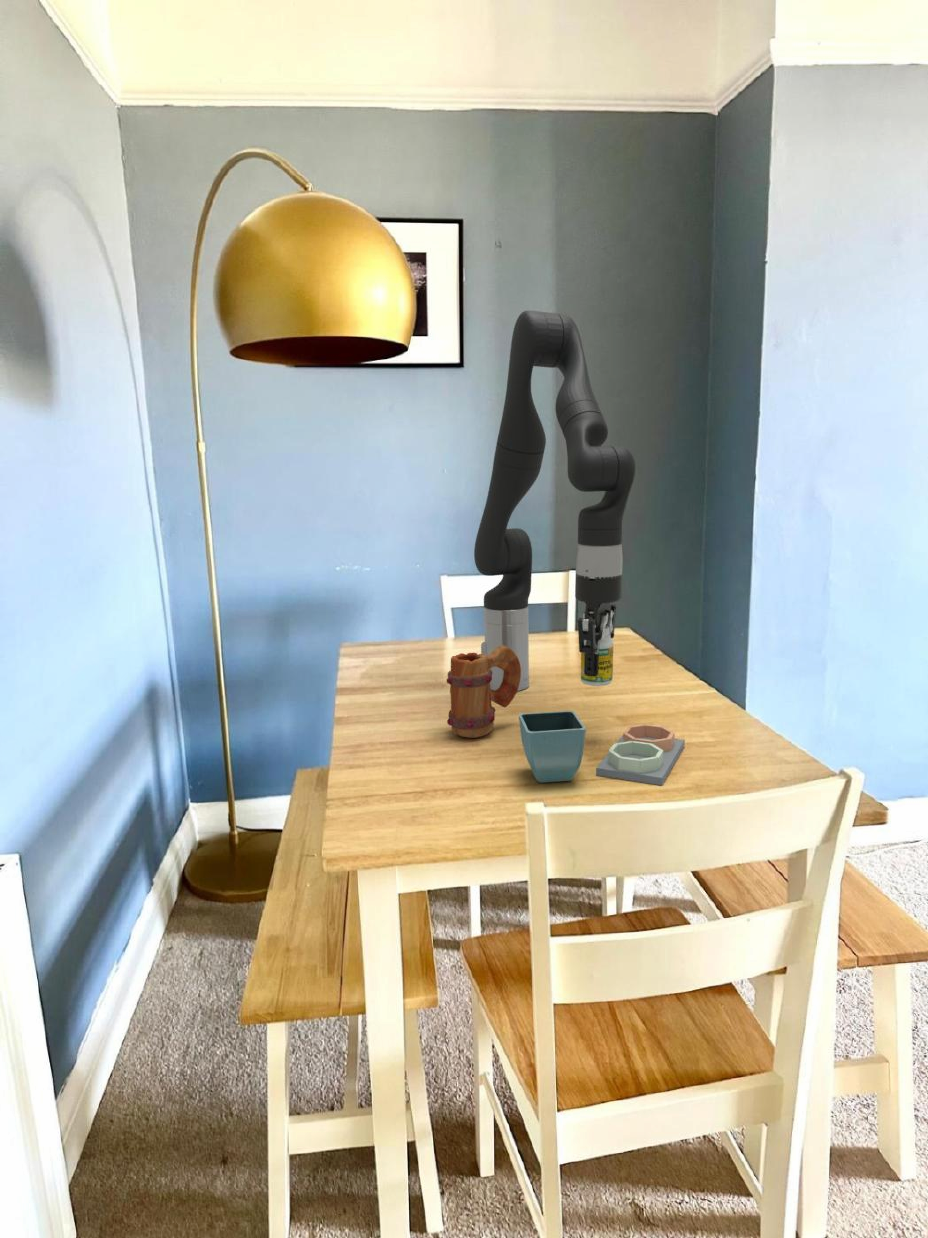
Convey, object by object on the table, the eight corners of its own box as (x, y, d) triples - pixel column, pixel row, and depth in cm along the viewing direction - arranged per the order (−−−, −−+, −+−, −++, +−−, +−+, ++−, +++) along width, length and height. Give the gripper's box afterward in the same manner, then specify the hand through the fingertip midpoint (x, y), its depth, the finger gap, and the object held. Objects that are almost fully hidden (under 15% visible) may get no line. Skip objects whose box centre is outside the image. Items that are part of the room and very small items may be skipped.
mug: (458, 746, 134) (455, 660, 131) (437, 731, 142) (434, 650, 139) (531, 730, 141) (530, 648, 138) (508, 717, 148) (506, 639, 145)
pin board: (596, 775, 121) (596, 755, 120) (625, 738, 136) (625, 720, 135) (662, 785, 116) (662, 765, 116) (684, 746, 131) (685, 728, 131)
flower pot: (518, 767, 125) (517, 712, 123) (573, 763, 126) (573, 709, 124) (527, 790, 116) (526, 732, 115) (586, 786, 117) (586, 728, 115)
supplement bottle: (597, 675, 137) (598, 621, 135) (619, 683, 133) (621, 627, 130) (573, 680, 134) (574, 625, 132) (595, 688, 130) (596, 632, 128)
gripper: (590, 563, 137) (588, 657, 141) (562, 576, 124) (561, 679, 128) (632, 565, 134) (629, 662, 138) (608, 580, 121) (606, 685, 125)
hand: (596, 670), depth 133 cm, fingers closed on supplement bottle, 5 cm apart
